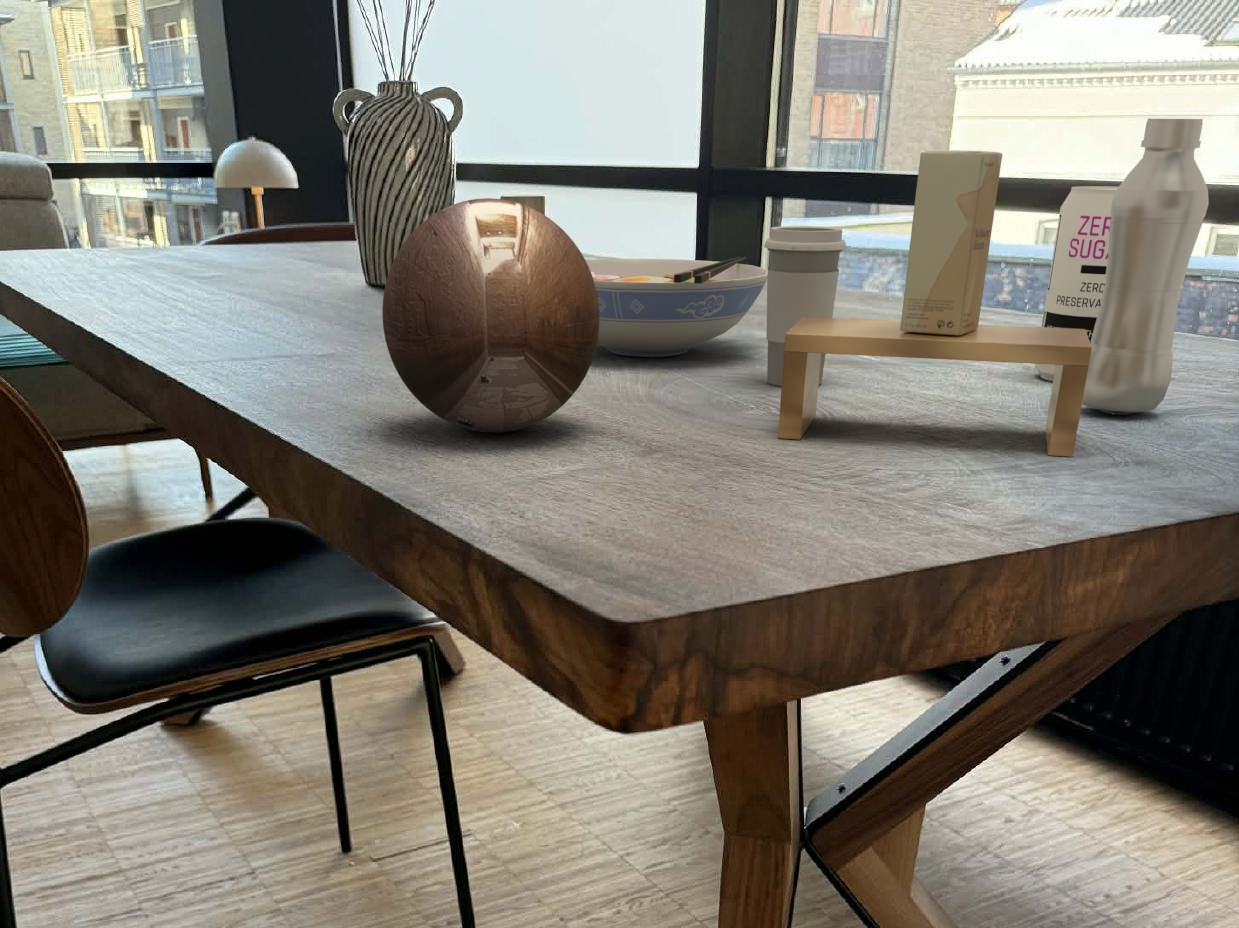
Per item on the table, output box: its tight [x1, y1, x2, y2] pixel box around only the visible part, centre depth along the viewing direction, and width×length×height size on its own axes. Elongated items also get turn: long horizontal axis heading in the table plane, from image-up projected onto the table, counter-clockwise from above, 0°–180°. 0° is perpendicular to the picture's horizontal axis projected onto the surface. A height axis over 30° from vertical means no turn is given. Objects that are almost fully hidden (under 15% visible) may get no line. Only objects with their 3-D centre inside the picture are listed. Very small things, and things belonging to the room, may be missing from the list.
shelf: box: [777, 317, 1092, 458], centre depth 95 cm, size 20×9×7 cm, turn 75°
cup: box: [763, 225, 847, 387], centre depth 113 cm, size 7×7×12 cm
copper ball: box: [381, 197, 600, 434], centre depth 93 cm, size 15×15×15 cm
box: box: [900, 149, 1003, 335], centre depth 91 cm, size 5×4×11 cm
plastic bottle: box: [1082, 118, 1209, 415], centre depth 100 cm, size 6×7×20 cm
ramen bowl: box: [585, 256, 768, 358], centre depth 128 cm, size 25×23×8 cm
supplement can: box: [1034, 185, 1119, 382], centre depth 115 cm, size 8×8×15 cm
